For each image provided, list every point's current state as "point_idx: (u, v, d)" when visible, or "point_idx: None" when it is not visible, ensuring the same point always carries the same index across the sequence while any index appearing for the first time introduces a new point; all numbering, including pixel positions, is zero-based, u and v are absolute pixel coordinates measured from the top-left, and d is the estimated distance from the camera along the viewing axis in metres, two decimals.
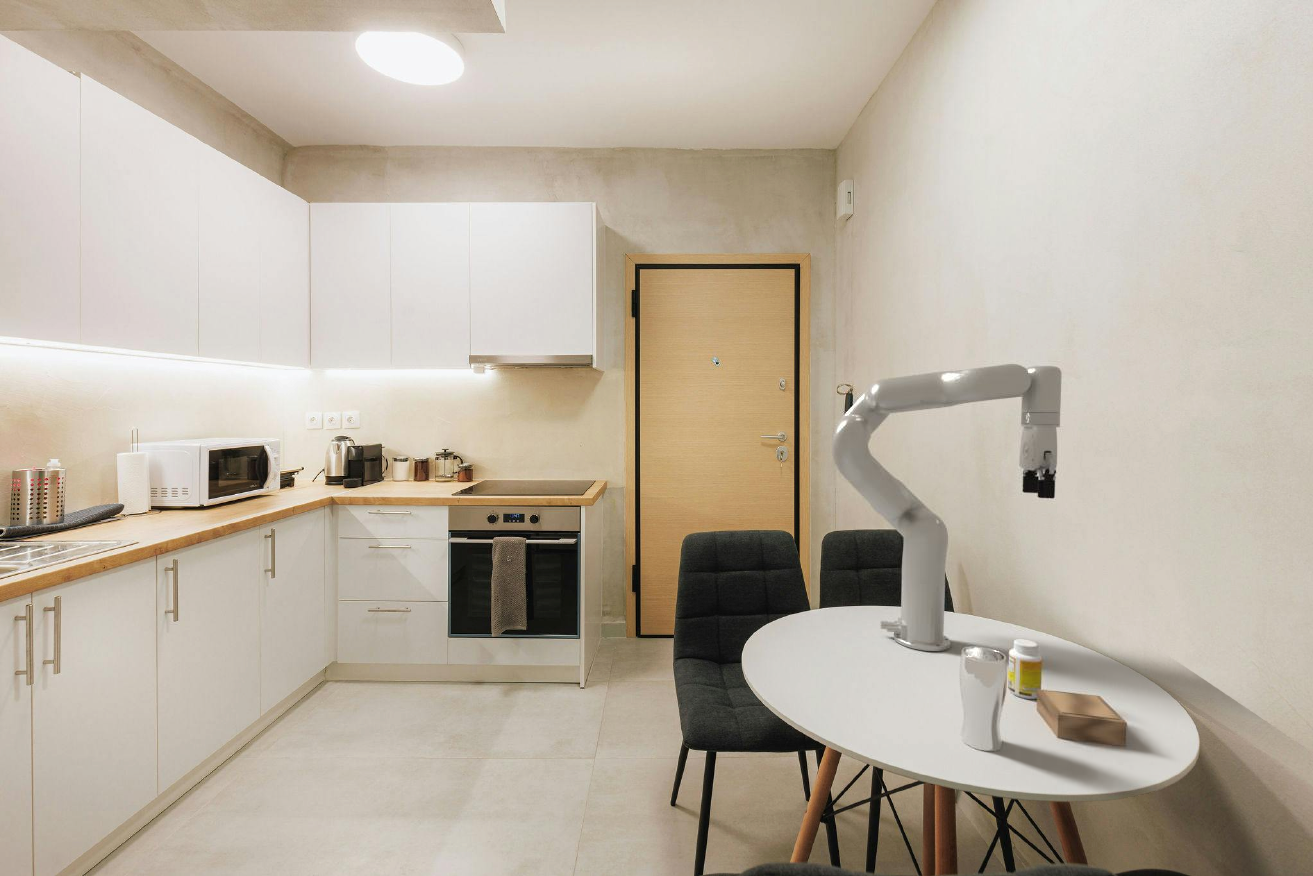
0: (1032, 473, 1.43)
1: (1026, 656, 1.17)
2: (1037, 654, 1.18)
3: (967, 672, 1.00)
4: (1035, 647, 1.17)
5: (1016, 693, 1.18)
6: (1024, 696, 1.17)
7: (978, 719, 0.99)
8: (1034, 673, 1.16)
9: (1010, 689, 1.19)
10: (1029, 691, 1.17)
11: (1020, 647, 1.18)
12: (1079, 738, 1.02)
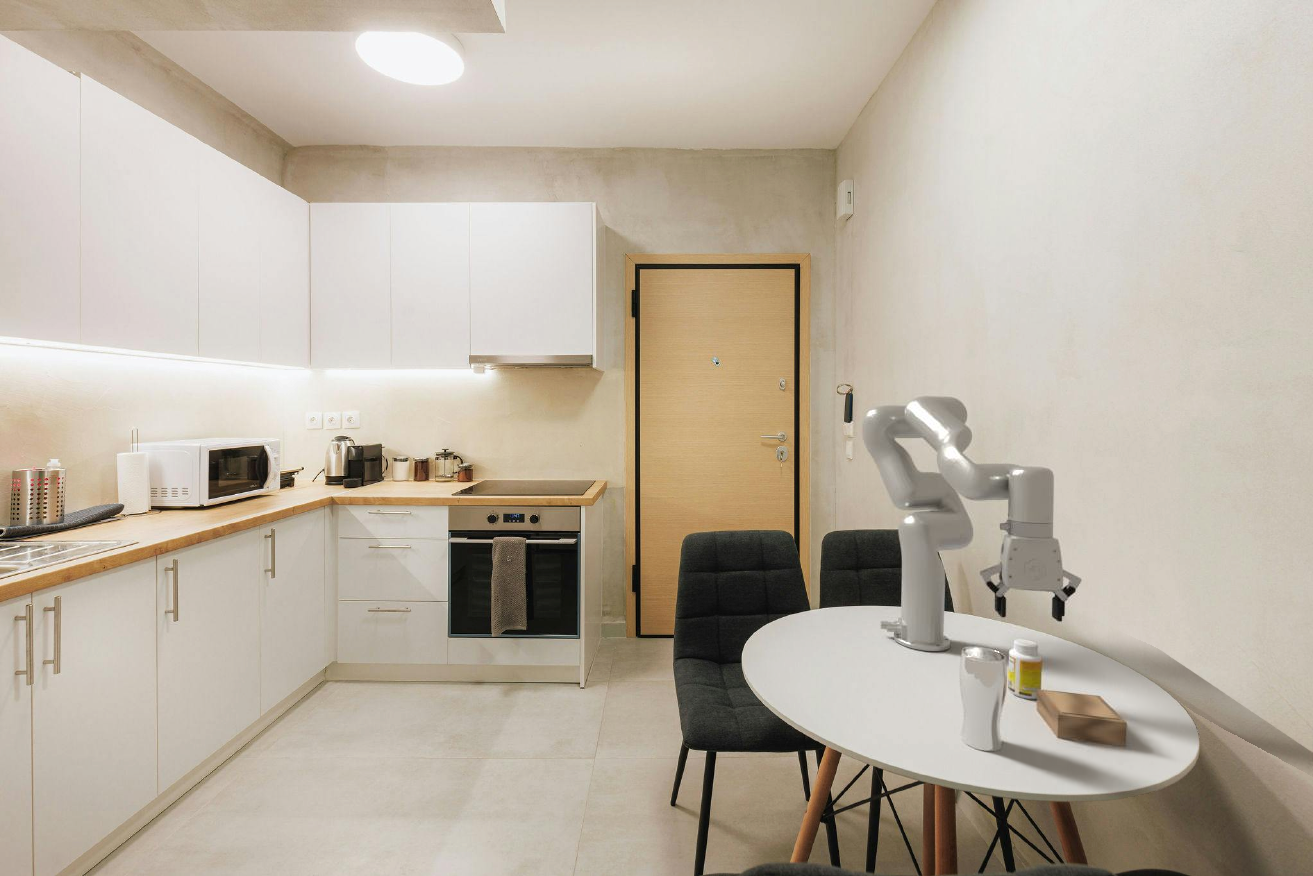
0: None
1: (1026, 656, 1.17)
2: (1037, 654, 1.18)
3: (967, 672, 1.00)
4: (1035, 647, 1.17)
5: (1016, 693, 1.18)
6: (1024, 696, 1.17)
7: (978, 719, 0.99)
8: (1034, 673, 1.16)
9: (1010, 689, 1.19)
10: (1029, 691, 1.17)
11: (1020, 647, 1.18)
12: (1079, 738, 1.02)
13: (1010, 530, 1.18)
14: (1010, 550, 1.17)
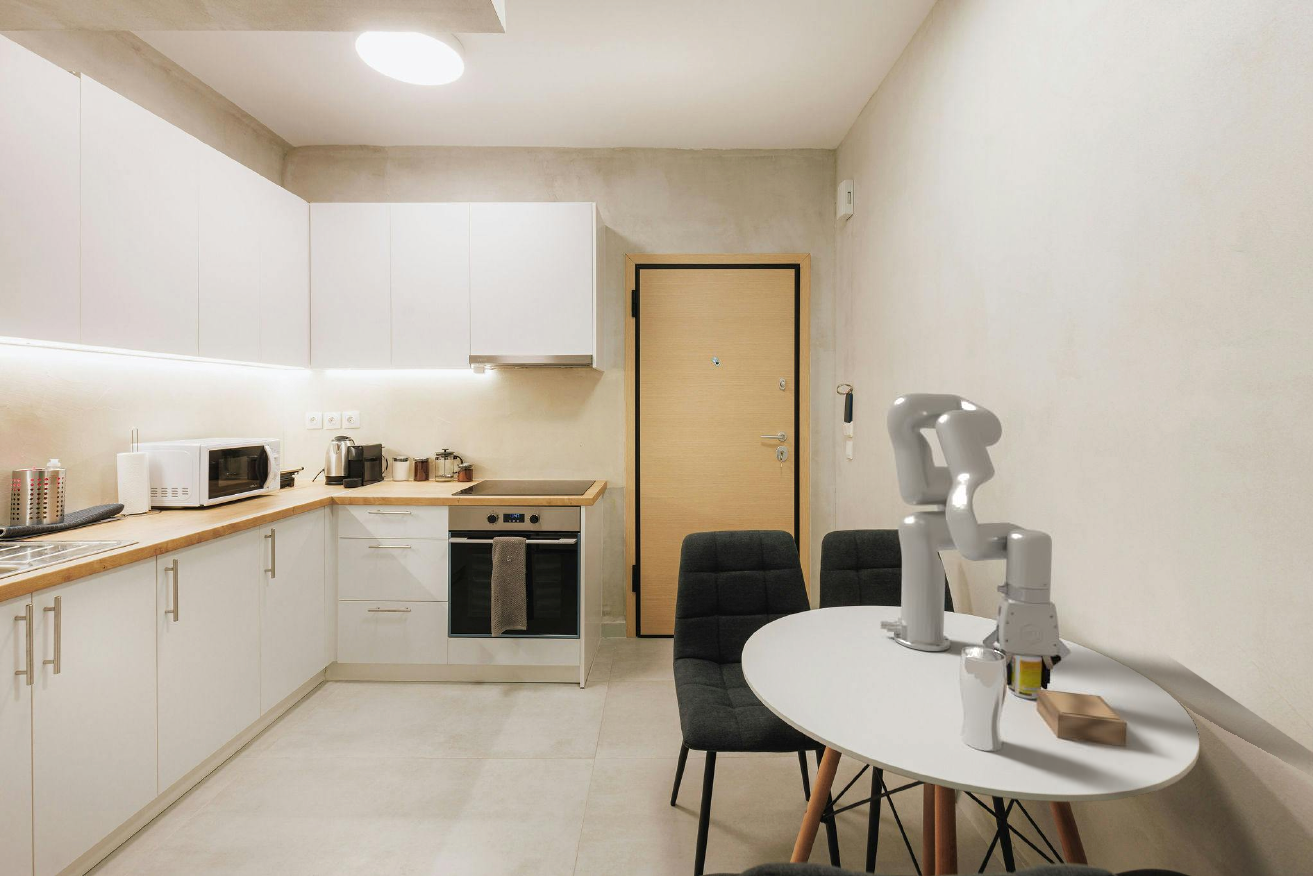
0: None
1: (1026, 656, 1.17)
2: None
3: (967, 672, 1.00)
4: None
5: (1016, 693, 1.18)
6: (1024, 696, 1.17)
7: (978, 719, 0.99)
8: (1034, 673, 1.16)
9: (1010, 689, 1.19)
10: (1029, 691, 1.17)
11: None
12: (1079, 738, 1.02)
13: (1007, 593, 1.19)
14: (1007, 614, 1.17)
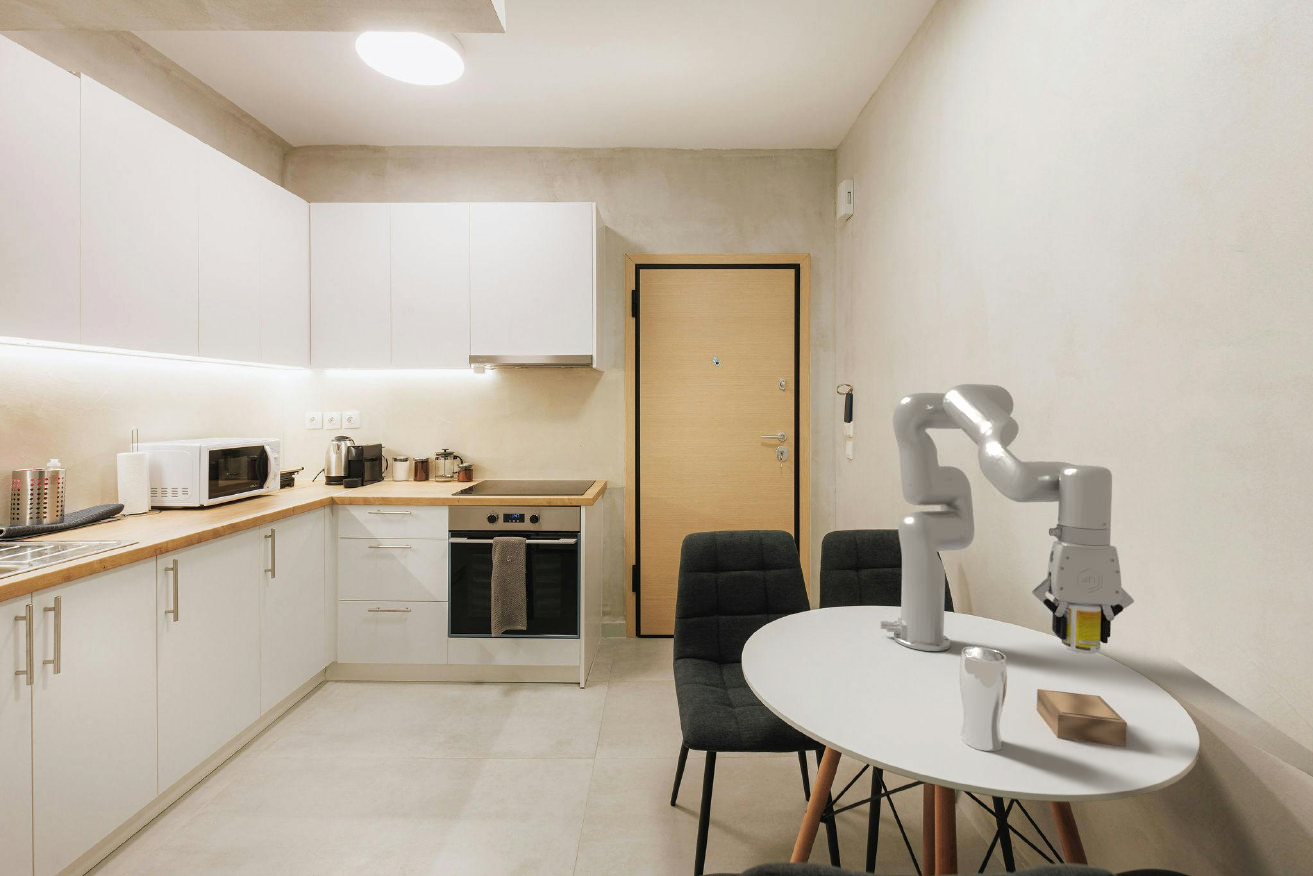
0: None
1: (1083, 605, 1.04)
2: None
3: (967, 672, 1.00)
4: None
5: (1072, 648, 1.05)
6: (1082, 651, 1.04)
7: (978, 719, 0.99)
8: (1093, 624, 1.03)
9: (1065, 644, 1.06)
10: (1088, 645, 1.03)
11: None
12: (1079, 738, 1.02)
13: (1061, 536, 1.06)
14: (1061, 559, 1.04)
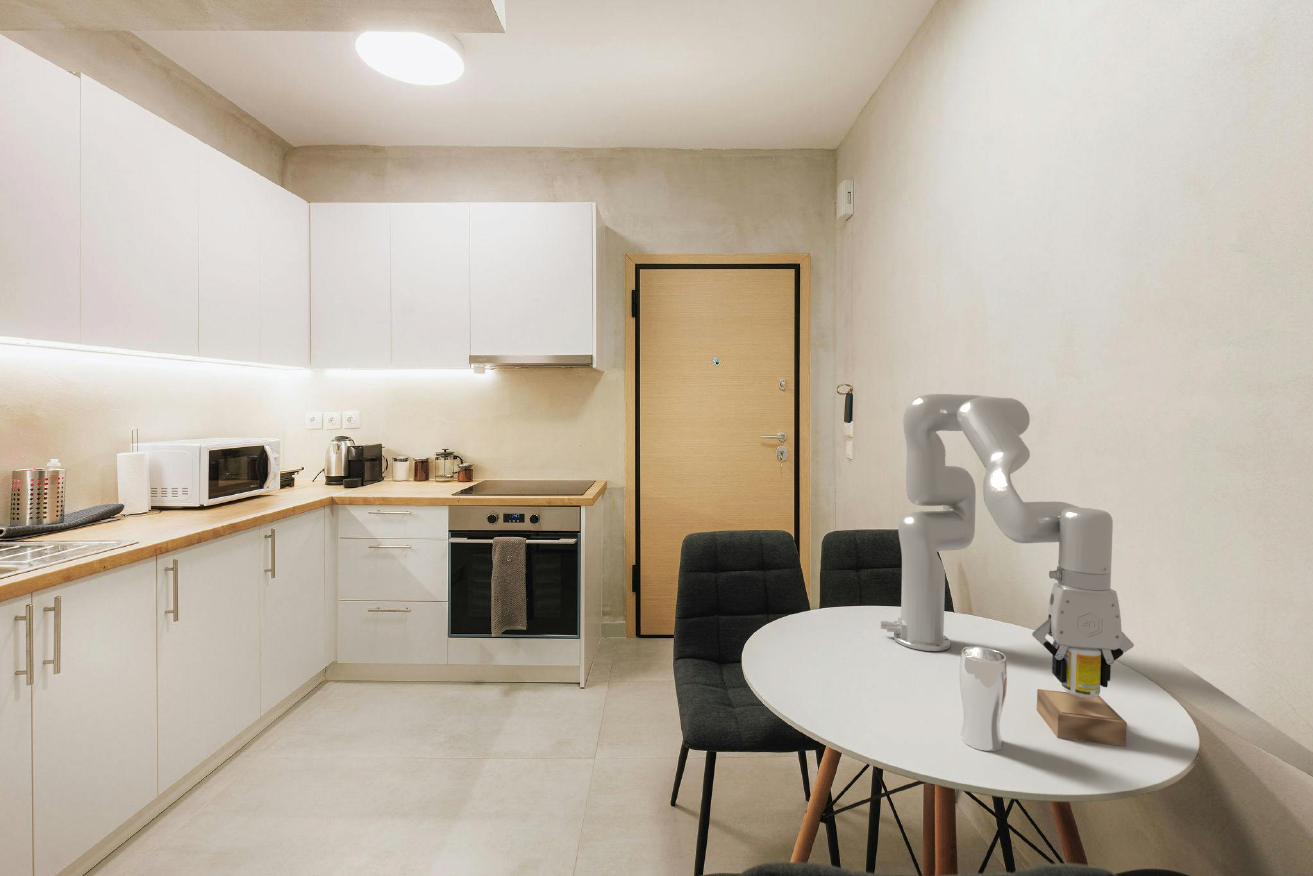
0: None
1: (1083, 649, 1.04)
2: None
3: (967, 672, 1.00)
4: None
5: (1072, 691, 1.05)
6: (1081, 695, 1.04)
7: (978, 719, 0.99)
8: (1093, 668, 1.03)
9: (1064, 687, 1.06)
10: (1087, 689, 1.03)
11: None
12: (1079, 738, 1.02)
13: (1061, 579, 1.05)
14: (1062, 602, 1.04)
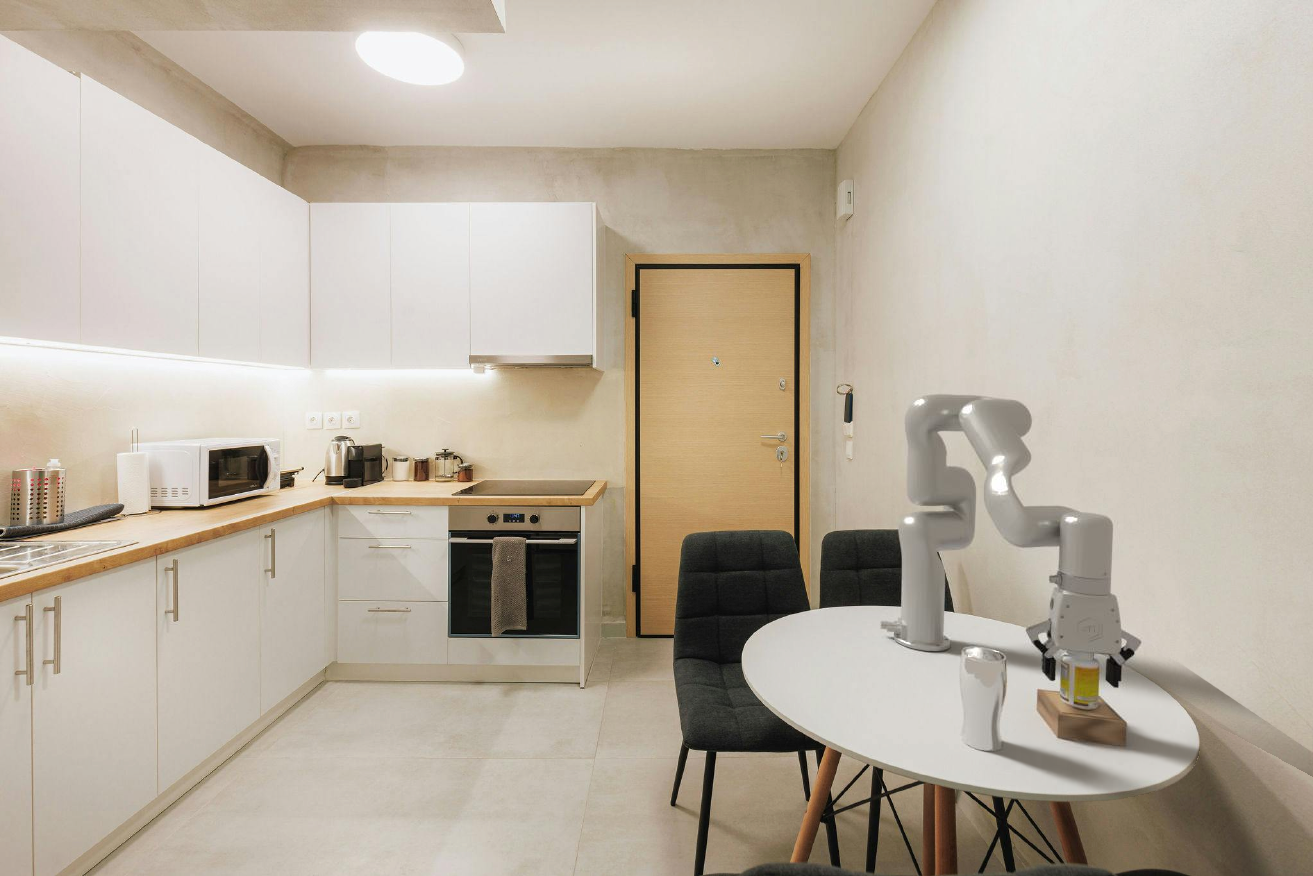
0: None
1: (1082, 662, 1.04)
2: (1094, 659, 1.05)
3: (967, 672, 1.00)
4: None
5: (1070, 703, 1.05)
6: (1080, 706, 1.04)
7: (978, 719, 0.99)
8: (1091, 680, 1.03)
9: (1063, 698, 1.06)
10: (1086, 701, 1.04)
11: None
12: (1079, 738, 1.02)
13: (1061, 584, 1.05)
14: (1062, 607, 1.04)
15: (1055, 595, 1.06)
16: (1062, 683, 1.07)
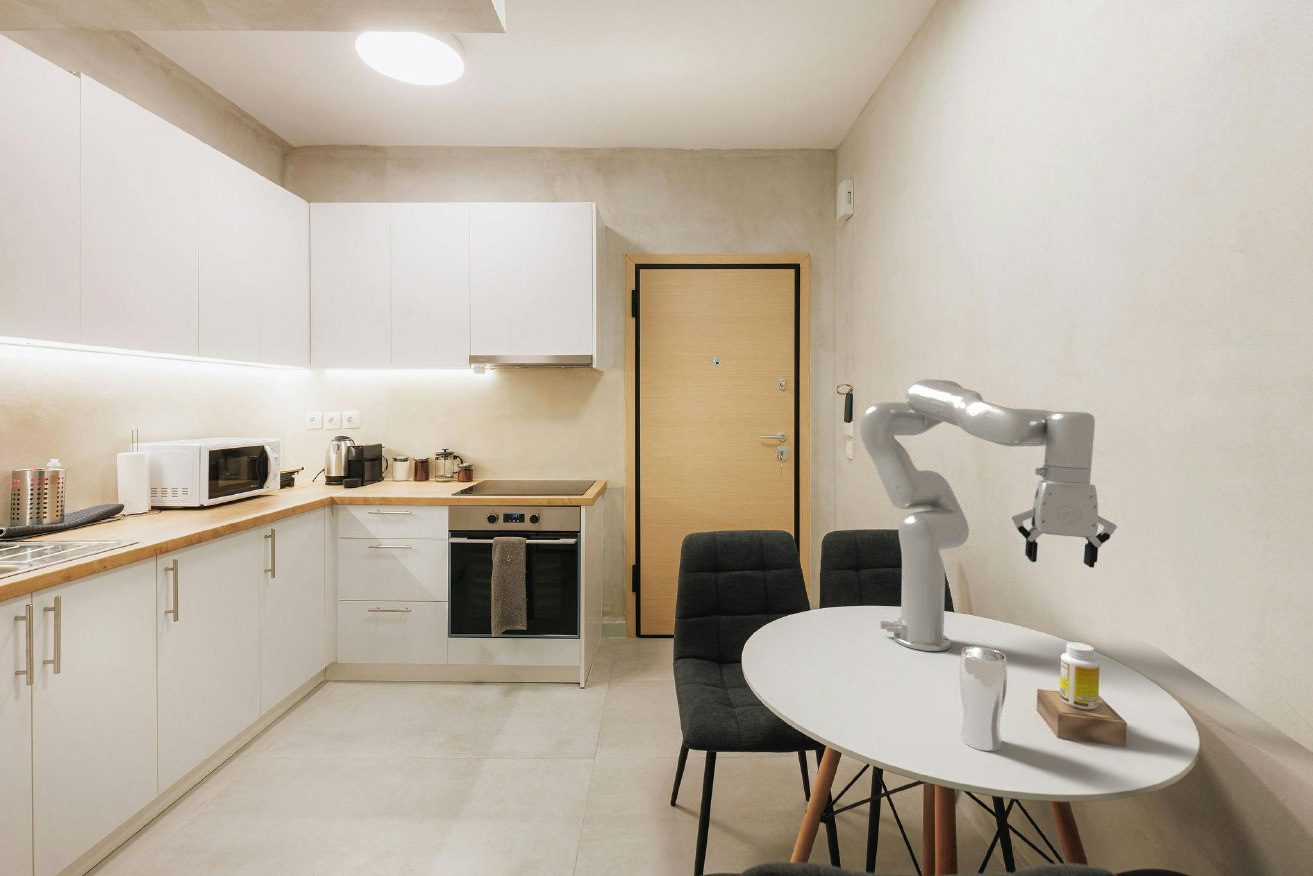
0: None
1: (1082, 661, 1.04)
2: (1094, 659, 1.05)
3: (967, 672, 1.00)
4: (1092, 652, 1.04)
5: (1070, 703, 1.05)
6: (1080, 706, 1.04)
7: (978, 719, 0.99)
8: (1091, 680, 1.04)
9: (1063, 698, 1.06)
10: (1086, 701, 1.04)
11: (1074, 651, 1.05)
12: (1079, 738, 1.02)
13: (1046, 475, 1.17)
14: (1045, 495, 1.16)
15: (1040, 485, 1.17)
16: (1062, 683, 1.07)
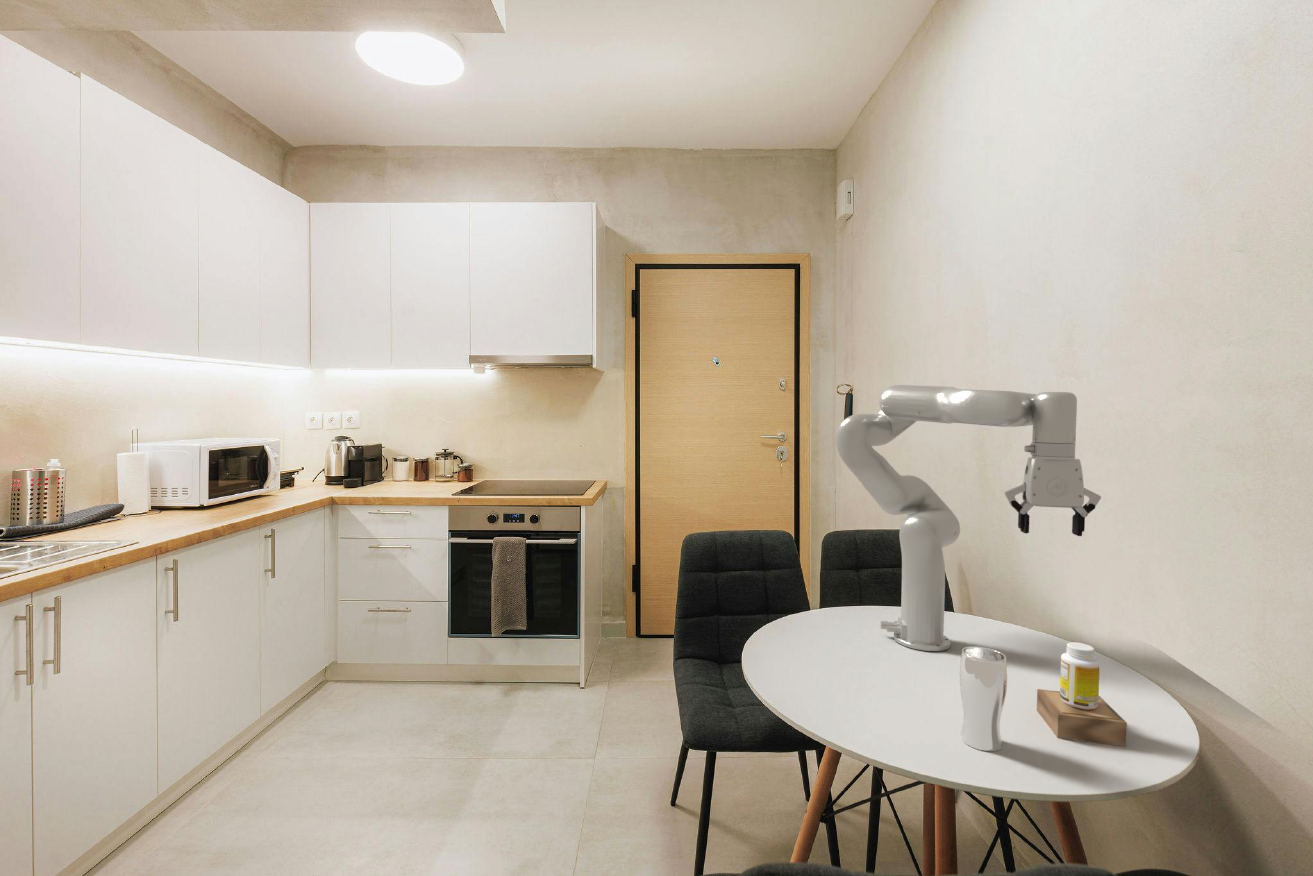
0: None
1: (1082, 661, 1.04)
2: (1094, 659, 1.05)
3: (967, 672, 1.00)
4: (1092, 652, 1.04)
5: (1070, 703, 1.05)
6: (1080, 706, 1.04)
7: (978, 719, 0.99)
8: (1091, 680, 1.04)
9: (1063, 698, 1.06)
10: (1086, 701, 1.04)
11: (1074, 651, 1.05)
12: (1079, 738, 1.02)
13: (1034, 451, 1.25)
14: (1034, 469, 1.24)
15: (1029, 461, 1.26)
16: (1062, 683, 1.07)
